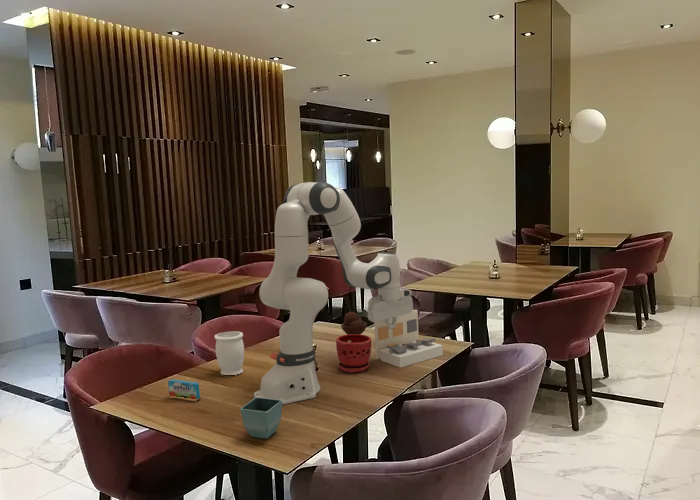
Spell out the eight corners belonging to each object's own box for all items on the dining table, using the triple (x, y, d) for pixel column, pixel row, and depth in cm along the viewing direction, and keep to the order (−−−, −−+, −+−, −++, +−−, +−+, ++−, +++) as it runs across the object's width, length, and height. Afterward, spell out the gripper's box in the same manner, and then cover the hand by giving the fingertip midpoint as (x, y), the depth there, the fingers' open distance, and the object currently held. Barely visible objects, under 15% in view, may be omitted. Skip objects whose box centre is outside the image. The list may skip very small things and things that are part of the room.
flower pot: (269, 443, 151) (267, 411, 150) (241, 439, 155) (239, 408, 154) (284, 429, 159) (282, 399, 158) (258, 426, 163) (255, 396, 162)
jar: (212, 376, 209) (209, 337, 207) (226, 367, 218) (223, 330, 217) (237, 378, 205) (234, 338, 204) (250, 369, 215) (247, 331, 213)
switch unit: (400, 367, 208) (398, 325, 206) (375, 358, 220) (373, 319, 218) (442, 355, 220) (441, 315, 218) (417, 347, 232) (415, 309, 231)
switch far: (427, 342, 219) (427, 340, 219) (416, 342, 224) (415, 340, 224) (435, 340, 221) (434, 338, 221) (423, 340, 227) (423, 338, 227)
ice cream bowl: (368, 348, 235) (366, 313, 233) (341, 349, 235) (339, 314, 233) (367, 341, 245) (366, 308, 243) (342, 342, 245) (340, 309, 244)
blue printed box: (169, 398, 189) (167, 380, 189) (172, 396, 191) (170, 379, 190) (197, 402, 184) (195, 384, 184) (200, 400, 186) (198, 382, 185)
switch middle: (413, 346, 214) (413, 344, 214) (402, 346, 220) (401, 343, 220) (421, 344, 217) (420, 342, 217) (409, 344, 222) (409, 341, 222)
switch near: (398, 353, 210) (398, 351, 210) (386, 347, 216) (387, 344, 215) (406, 351, 213) (406, 349, 212) (394, 344, 218) (394, 342, 218)
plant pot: (351, 377, 200) (349, 344, 199) (330, 368, 211) (329, 338, 209) (379, 368, 208) (378, 337, 206) (358, 361, 218) (356, 331, 217)
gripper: (373, 299, 206) (375, 335, 208) (414, 290, 217) (416, 324, 219) (363, 297, 211) (365, 332, 213) (404, 288, 222) (405, 321, 224)
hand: (391, 328), depth 216 cm, fingers closed
